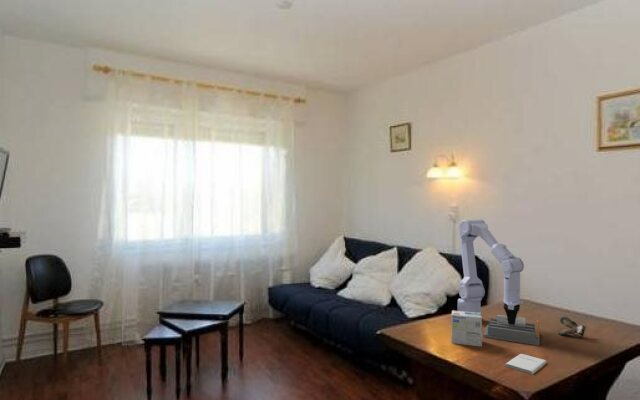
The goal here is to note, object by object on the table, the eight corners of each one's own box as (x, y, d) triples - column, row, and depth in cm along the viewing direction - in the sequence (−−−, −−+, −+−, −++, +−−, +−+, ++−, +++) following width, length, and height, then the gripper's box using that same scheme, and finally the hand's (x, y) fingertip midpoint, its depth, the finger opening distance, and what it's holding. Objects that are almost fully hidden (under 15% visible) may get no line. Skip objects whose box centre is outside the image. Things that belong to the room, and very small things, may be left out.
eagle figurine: (585, 331, 160) (559, 322, 166) (588, 319, 156) (561, 311, 162) (581, 346, 156) (555, 336, 161) (584, 334, 152) (557, 325, 157)
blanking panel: (496, 330, 160) (496, 315, 160) (497, 329, 161) (497, 314, 161) (525, 334, 155) (525, 318, 155) (525, 333, 157) (525, 317, 157)
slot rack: (483, 337, 156) (483, 318, 156) (487, 326, 169) (487, 310, 169) (539, 345, 147) (539, 326, 147) (538, 334, 160) (539, 316, 160)
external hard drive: (505, 368, 129) (520, 357, 138) (532, 376, 123) (546, 364, 132) (505, 363, 129) (520, 352, 138) (532, 371, 123) (546, 359, 132)
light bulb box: (481, 341, 152) (481, 312, 152) (482, 347, 146) (482, 317, 146) (451, 337, 156) (451, 309, 156) (451, 343, 149) (451, 314, 149)
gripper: (523, 293, 150) (522, 330, 150) (523, 286, 163) (523, 320, 163) (502, 291, 153) (501, 327, 153) (504, 284, 166) (504, 317, 166)
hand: (511, 323), depth 158 cm, fingers closed on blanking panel, 1 cm apart
